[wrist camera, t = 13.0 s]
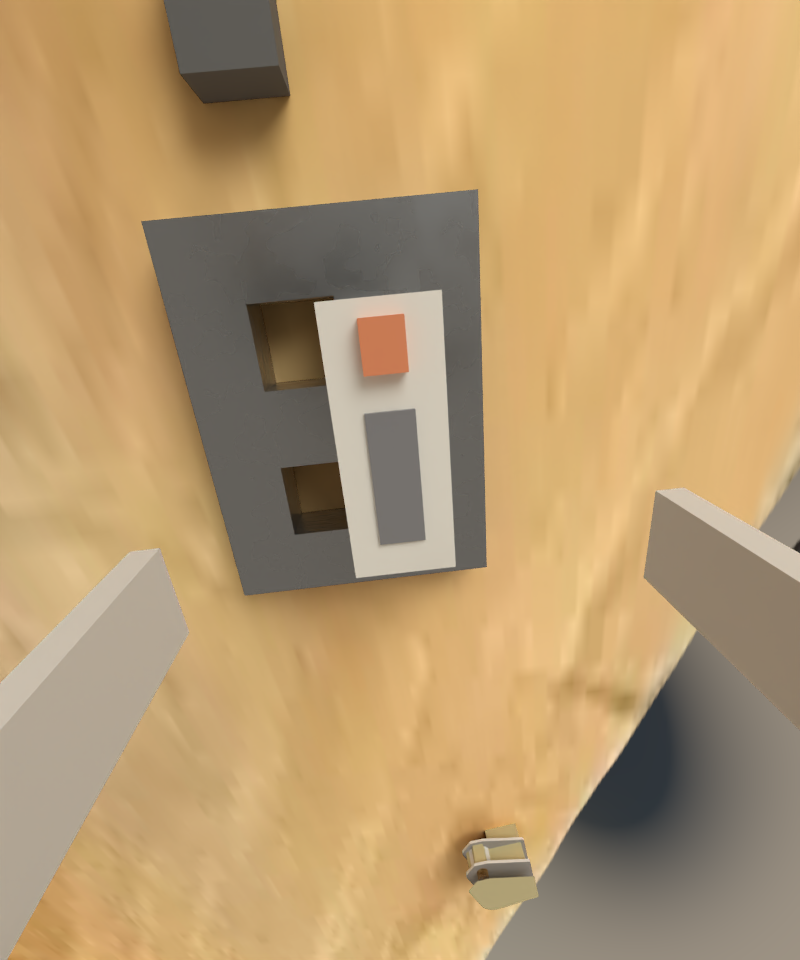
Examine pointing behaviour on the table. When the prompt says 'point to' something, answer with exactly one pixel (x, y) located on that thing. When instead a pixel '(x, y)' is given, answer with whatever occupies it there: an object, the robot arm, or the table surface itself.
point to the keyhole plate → (305, 404)
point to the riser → (229, 48)
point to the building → (500, 869)
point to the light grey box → (391, 428)
